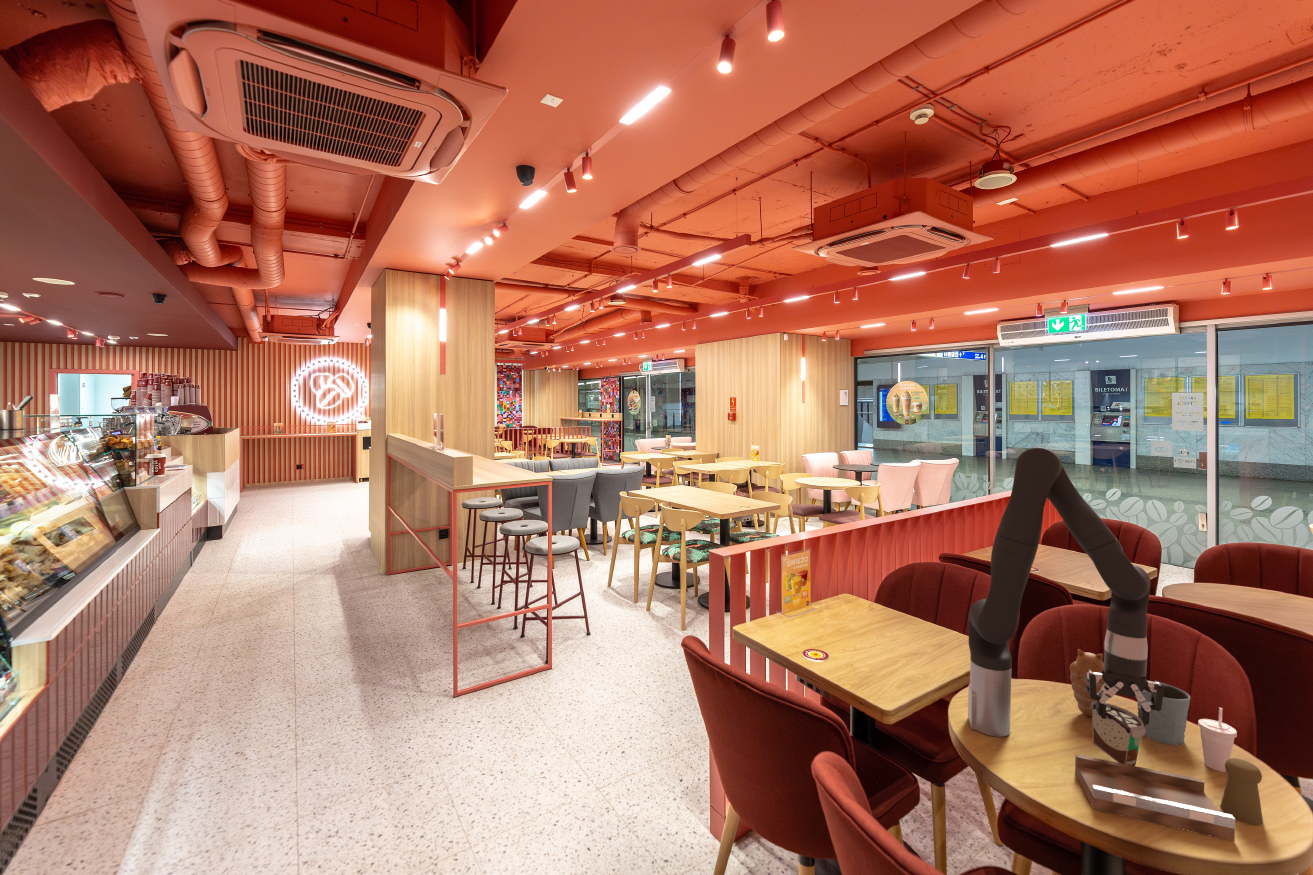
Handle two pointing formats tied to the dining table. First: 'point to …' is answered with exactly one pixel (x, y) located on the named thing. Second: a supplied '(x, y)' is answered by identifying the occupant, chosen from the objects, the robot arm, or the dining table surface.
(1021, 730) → the dining table surface
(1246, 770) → the cork
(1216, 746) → the smoothie
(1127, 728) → the food container
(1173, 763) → the dining table surface
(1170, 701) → the grey blue pot
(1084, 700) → the cat ice cream
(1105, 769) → the wooden tray
